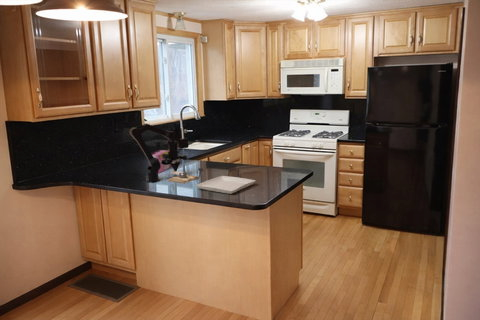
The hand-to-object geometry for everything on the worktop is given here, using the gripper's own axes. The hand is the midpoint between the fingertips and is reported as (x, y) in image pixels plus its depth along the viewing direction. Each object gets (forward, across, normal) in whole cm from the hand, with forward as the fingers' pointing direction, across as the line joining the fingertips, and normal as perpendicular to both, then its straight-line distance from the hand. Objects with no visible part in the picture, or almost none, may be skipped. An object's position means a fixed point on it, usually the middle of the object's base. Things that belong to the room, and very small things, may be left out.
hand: (175, 172), depth 277 cm
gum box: (+5, -11, -31) cm, 33 cm away
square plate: (+5, 0, +47) cm, 47 cm away
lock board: (+4, +1, +8) cm, 10 cm away
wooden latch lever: (+2, +1, +5) cm, 5 cm away
